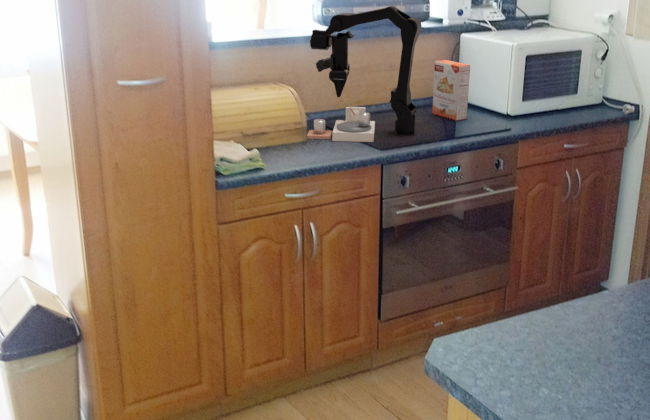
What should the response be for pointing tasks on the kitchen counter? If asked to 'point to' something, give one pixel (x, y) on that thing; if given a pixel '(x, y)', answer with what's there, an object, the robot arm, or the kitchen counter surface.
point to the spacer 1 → (319, 126)
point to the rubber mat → (317, 136)
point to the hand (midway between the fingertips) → (339, 94)
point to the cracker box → (451, 89)
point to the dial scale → (353, 127)
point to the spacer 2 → (364, 119)
